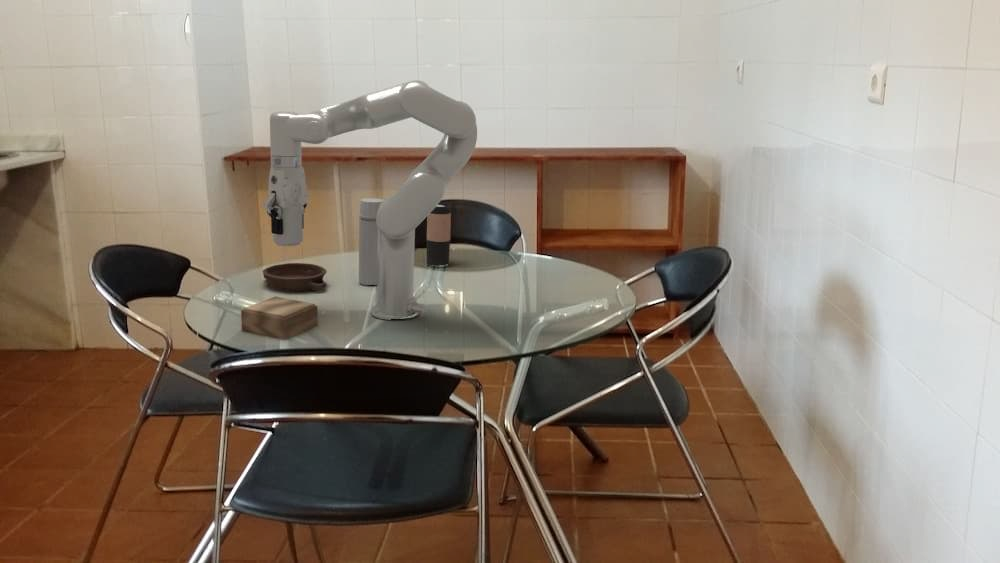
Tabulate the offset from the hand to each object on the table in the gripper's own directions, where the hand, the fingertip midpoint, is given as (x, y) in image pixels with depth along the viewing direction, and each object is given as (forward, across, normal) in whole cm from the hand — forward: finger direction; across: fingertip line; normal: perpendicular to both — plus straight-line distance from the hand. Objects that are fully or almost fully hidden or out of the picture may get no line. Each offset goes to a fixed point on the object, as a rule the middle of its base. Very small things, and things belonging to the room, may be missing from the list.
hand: (287, 230), depth 222 cm
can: (+4, 0, 0) cm, 4 cm away
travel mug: (+22, +66, -7) cm, 70 cm away
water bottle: (+22, +36, -2) cm, 42 cm away
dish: (+22, +21, +15) cm, 34 cm away
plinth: (+22, -12, -6) cm, 25 cm away
